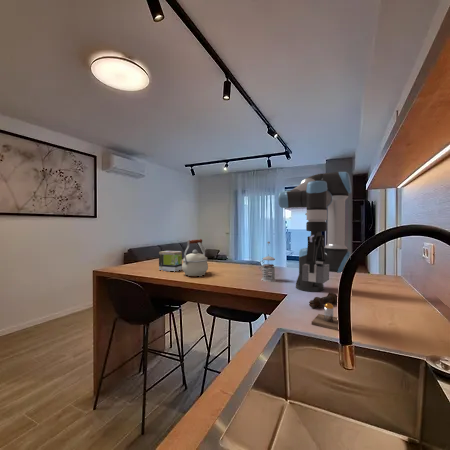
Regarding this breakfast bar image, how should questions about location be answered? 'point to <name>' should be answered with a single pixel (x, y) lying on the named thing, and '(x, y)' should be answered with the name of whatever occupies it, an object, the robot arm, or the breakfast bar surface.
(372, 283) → the breakfast bar surface
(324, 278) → the grey open box
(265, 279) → the french press
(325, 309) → the keeper post
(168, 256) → the tea box
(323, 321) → the keeper base
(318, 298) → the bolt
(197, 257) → the kettle
